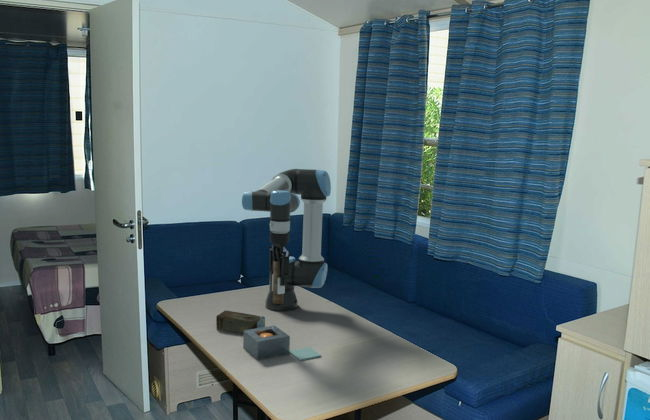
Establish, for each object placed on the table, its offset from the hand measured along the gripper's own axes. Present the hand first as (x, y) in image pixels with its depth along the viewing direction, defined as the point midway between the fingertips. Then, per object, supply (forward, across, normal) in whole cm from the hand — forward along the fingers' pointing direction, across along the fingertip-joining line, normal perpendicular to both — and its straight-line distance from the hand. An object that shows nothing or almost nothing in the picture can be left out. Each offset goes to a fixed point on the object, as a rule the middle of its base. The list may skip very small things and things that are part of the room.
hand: (278, 291), depth 228 cm
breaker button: (+20, +3, -6) cm, 21 cm away
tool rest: (+22, +13, +5) cm, 26 cm away
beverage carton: (+22, -23, -5) cm, 32 cm away
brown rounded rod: (+4, 0, 0) cm, 4 cm away
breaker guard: (+22, +3, -6) cm, 23 cm away
